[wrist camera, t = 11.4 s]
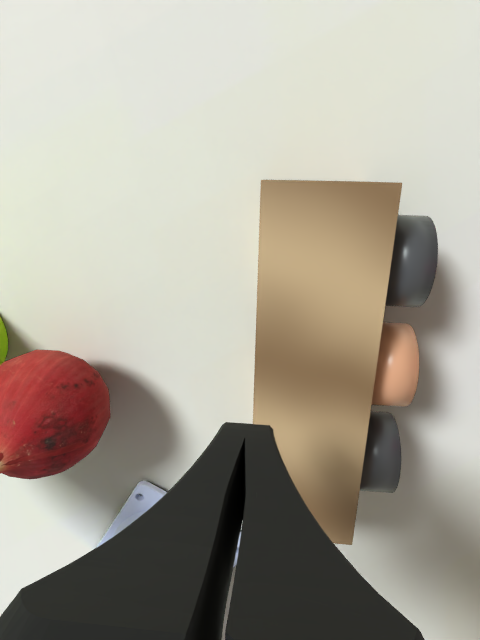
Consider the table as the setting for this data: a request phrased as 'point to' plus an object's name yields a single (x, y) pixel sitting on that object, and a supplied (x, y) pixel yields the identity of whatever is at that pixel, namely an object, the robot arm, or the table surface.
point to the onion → (49, 413)
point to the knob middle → (396, 366)
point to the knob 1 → (381, 454)
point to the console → (322, 332)
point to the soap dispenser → (3, 342)
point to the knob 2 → (412, 261)
